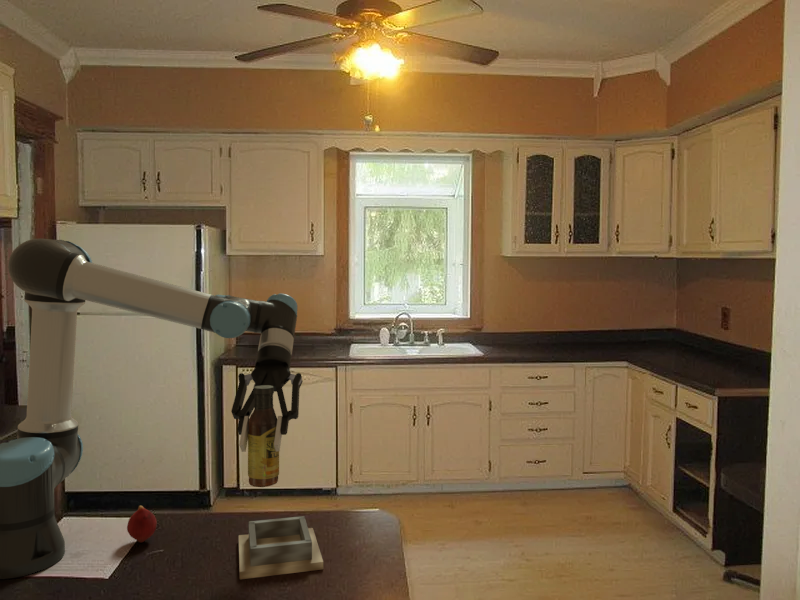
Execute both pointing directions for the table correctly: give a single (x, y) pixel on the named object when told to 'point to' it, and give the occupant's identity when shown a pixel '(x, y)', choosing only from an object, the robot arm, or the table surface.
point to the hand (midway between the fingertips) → (259, 448)
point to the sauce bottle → (262, 439)
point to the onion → (141, 524)
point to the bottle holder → (278, 548)
